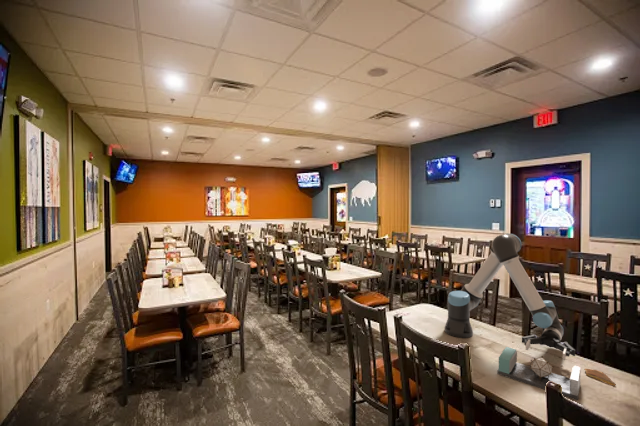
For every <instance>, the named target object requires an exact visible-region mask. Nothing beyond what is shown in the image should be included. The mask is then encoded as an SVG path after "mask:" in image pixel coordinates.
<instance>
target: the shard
mask: <svg viewBox="0 0 640 426" xmlns="http://www.w3.org/2000/svg"><path fill="white" fill-rule="evenodd" d="M584 371H585V372H586V373H585V376H587V377H590V378H593V379H595V380H598V381H599V382H602V383H605V384H607V385H611V386H613V385H614V386H613V387H616V385H617V384H616V383H615V382H614V381H613V380H611V378H610V377H609V376H608V375H607V374H605V373H604V372H602V371H600V370H597V369H593V368H584Z"/></svg>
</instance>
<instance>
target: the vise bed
mask: <svg viewBox="0 0 640 426" xmlns="http://www.w3.org/2000/svg"><path fill="white" fill-rule="evenodd" d="M529 368H531V365H530V366H529V365H526V364H523V363H521V362H520V363H519V362H516V364H515V365H514V367H513V369H512V371H511V372H510V373H509V374H507V373H504V372H501V371H499V368H498V369H497V371H496V373H497V375H499V376H502V377H506V378H509V379H512V380H515V381H518V382H521V383H524V384H527V385H530V386H533V387H537V388H539V389H543V390H545V386H546V383H547V382H548V381H553V382H555V383H557V384H560V385H561V387H562V394H563V395H564V396H563V395H562V396H563V397H566V398H570V399H571V400H572V399H573V400H576V401H579V395H580V387H581V366H578V365H573V366H572V368H571V374H570V377H567V376H563V375H560V374H557V373H554V372H551V374H553V375H549V377H548V376H545V377H541V379H540V377H539V376H538V375H537V374H536V373H534V371H533V370H532V369H529Z"/></svg>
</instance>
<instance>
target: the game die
mask: <svg viewBox="0 0 640 426" xmlns="http://www.w3.org/2000/svg"><path fill="white" fill-rule="evenodd" d="M530 362H531V365H530V367H531V368H529V369H532V370H533V371H534V373H536V374H537V375H538V376H539V377H540V379H541V377H545V376H548V377H549V375H553V374H551V373H552V370H553V368H555V366H554V365H551V364H550V363H549V361H547V360H546V359H544V356H543V355H541V357H539V358H535V357H533V360H532V359H530Z"/></svg>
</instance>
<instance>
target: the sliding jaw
mask: <svg viewBox="0 0 640 426" xmlns="http://www.w3.org/2000/svg"><path fill="white" fill-rule="evenodd" d="M517 361H518V351H517V349H516V348H513V347H508V346H505V348H504V349H503V350H502V352H501V353H500V355H499V356H498V369H499V371H501V372H504V373H507V374H509V373H510V372H511V371H512V369H513V367H514V365H515V364H516V363H518V362H517Z"/></svg>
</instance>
